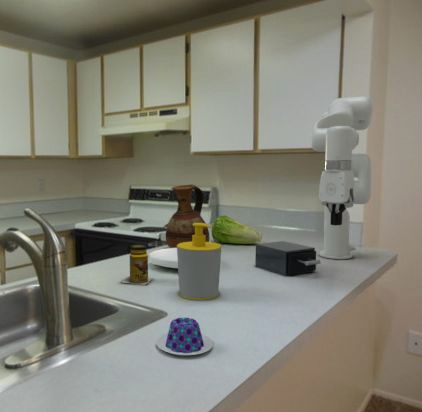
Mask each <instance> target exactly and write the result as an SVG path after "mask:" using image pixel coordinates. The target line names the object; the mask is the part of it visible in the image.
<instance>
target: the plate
mask: <svg viewBox="0 0 422 412" xmlns="http://www.w3.org/2000/svg"><path fill="white" fill-rule="evenodd" d="M148 262H149V263H151V264H153V265H156V266H160V267H164V268H171V269H178V258H177V248H170V247H167V248H162V249H156V250H153V251H151V252H150V253H149V254H148Z"/></svg>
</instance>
